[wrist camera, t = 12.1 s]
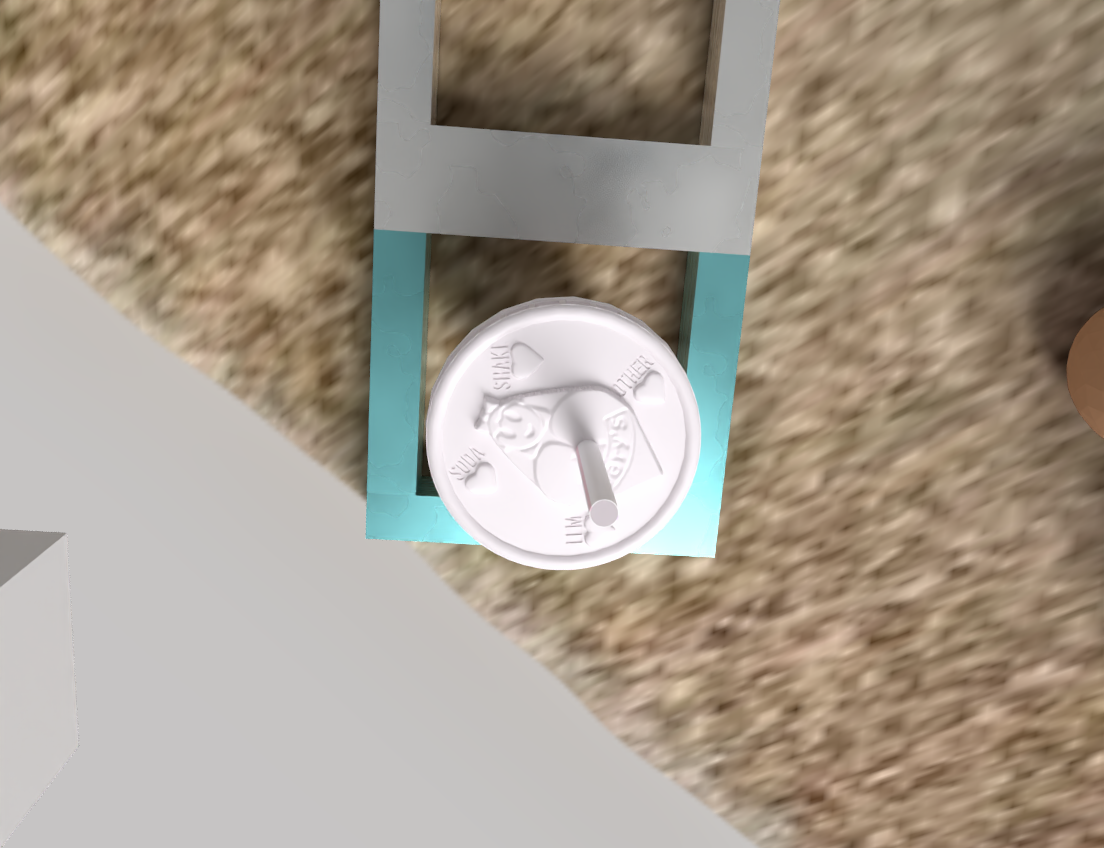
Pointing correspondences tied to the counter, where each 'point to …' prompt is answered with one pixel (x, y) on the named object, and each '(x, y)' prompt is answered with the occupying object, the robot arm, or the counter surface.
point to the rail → (559, 216)
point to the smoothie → (562, 433)
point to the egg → (1088, 372)
